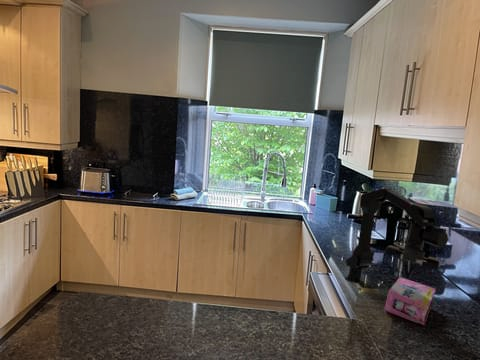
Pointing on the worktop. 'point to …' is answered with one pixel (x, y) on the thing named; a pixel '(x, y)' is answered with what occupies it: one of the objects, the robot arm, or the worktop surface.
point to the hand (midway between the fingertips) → (407, 277)
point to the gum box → (410, 300)
